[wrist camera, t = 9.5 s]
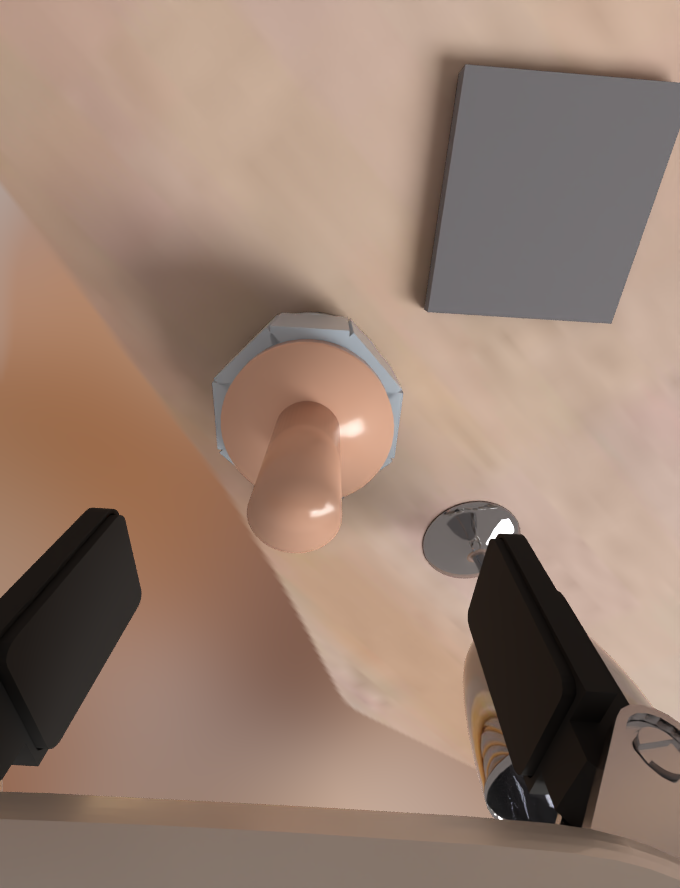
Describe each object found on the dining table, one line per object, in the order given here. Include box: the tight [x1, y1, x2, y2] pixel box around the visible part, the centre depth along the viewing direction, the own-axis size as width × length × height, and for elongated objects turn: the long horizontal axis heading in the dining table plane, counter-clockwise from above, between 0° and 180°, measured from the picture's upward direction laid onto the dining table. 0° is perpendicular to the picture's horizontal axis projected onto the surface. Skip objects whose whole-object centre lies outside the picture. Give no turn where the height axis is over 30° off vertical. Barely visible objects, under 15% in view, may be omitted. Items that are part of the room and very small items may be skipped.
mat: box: [424, 64, 680, 324], centre depth 20 cm, size 10×10×1 cm
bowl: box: [212, 312, 403, 498], centre depth 22 cm, size 9×9×5 cm
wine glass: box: [423, 501, 654, 824], centre depth 23 cm, size 8×8×15 cm
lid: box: [221, 339, 394, 553], centre depth 16 cm, size 8×8×8 cm
